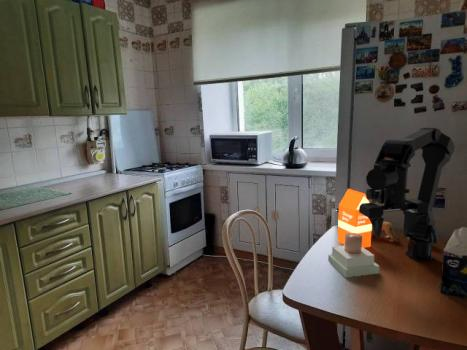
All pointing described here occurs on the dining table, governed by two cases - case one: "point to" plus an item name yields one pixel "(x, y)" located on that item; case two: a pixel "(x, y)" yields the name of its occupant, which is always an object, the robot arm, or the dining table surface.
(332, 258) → the sage slab
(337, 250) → the cream slab
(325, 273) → the dining table surface
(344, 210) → the orange juice
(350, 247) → the pale pink cylinder
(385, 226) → the lion figurine
